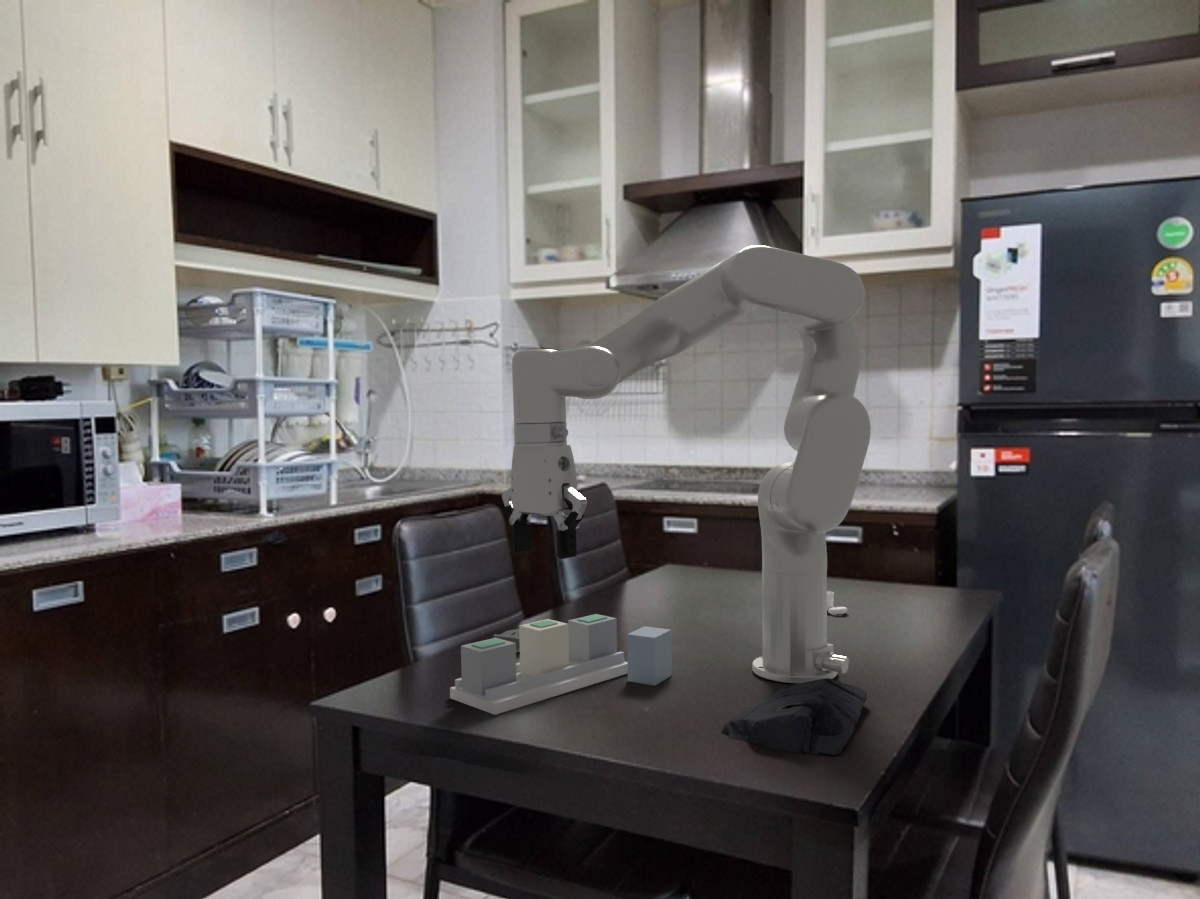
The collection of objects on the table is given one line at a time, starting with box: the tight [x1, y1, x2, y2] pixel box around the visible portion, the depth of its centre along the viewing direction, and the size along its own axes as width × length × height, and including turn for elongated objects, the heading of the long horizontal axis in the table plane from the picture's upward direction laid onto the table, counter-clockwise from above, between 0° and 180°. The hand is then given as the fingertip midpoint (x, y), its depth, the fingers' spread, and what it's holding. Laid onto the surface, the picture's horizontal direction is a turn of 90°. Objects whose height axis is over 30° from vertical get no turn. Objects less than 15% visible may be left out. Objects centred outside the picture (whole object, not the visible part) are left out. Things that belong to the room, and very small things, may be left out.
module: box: [626, 626, 673, 686], centre depth 135 cm, size 4×6×7 cm
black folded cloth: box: [721, 678, 868, 756], centre depth 116 cm, size 15×22×5 cm
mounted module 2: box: [567, 613, 618, 663], centre depth 140 cm, size 4×6×6 cm
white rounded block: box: [827, 590, 849, 616], centre depth 178 cm, size 9×8×4 cm
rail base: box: [449, 651, 628, 716], centre depth 133 cm, size 10×26×3 cm, turn 135°
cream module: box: [519, 618, 569, 677], centre depth 132 cm, size 4×6×7 cm
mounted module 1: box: [460, 637, 517, 696], centre depth 126 cm, size 4×6×6 cm
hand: (544, 554), depth 132 cm, fingers open, 9 cm apart
